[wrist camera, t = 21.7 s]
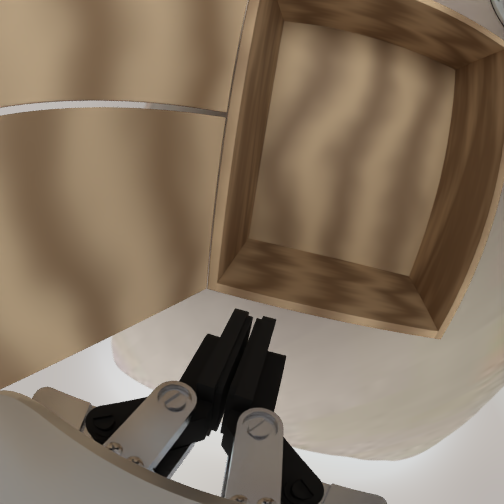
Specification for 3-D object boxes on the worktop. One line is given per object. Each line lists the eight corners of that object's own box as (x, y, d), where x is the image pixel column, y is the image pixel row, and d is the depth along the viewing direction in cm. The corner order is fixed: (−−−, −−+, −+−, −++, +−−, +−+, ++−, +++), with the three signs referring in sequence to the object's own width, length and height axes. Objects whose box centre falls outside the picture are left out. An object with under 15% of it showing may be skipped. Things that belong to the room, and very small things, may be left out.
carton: (458, 68, 19) (511, 46, 9) (410, 280, 31) (440, 339, 20) (278, 17, 23) (257, -36, 12) (242, 240, 34) (207, 288, 23)
